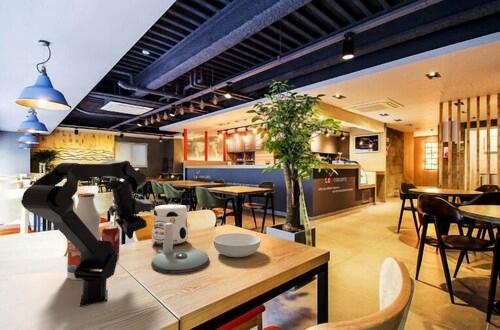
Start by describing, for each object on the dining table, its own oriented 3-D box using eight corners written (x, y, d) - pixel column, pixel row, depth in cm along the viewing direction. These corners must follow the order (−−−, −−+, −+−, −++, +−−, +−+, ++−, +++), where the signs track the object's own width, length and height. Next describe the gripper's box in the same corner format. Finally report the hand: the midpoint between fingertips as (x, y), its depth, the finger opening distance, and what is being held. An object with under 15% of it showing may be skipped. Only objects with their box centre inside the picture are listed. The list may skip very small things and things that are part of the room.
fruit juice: (105, 272, 90) (108, 193, 90) (78, 283, 82) (81, 195, 82) (88, 267, 94) (90, 191, 94) (60, 277, 85) (63, 193, 86)
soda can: (111, 258, 103) (112, 229, 104) (97, 257, 105) (97, 227, 105) (122, 253, 110) (123, 225, 110) (109, 252, 111) (110, 224, 112)
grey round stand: (198, 272, 89) (199, 234, 90) (136, 267, 92) (137, 231, 92) (213, 252, 110) (214, 222, 110) (163, 249, 113) (164, 219, 113)
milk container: (149, 249, 115) (150, 210, 116) (152, 239, 132) (153, 204, 132) (189, 247, 120) (189, 209, 120) (187, 237, 137) (188, 203, 137)
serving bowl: (268, 259, 107) (268, 242, 107) (219, 265, 99) (220, 247, 99) (250, 245, 126) (250, 231, 126) (208, 249, 118) (208, 234, 119)
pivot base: (217, 267, 97) (217, 254, 97) (156, 278, 86) (156, 263, 86) (198, 249, 118) (198, 238, 118) (147, 256, 107) (147, 244, 107)
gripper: (159, 198, 83) (164, 239, 88) (137, 183, 96) (143, 220, 101) (123, 209, 76) (131, 254, 80) (105, 191, 89) (112, 231, 93)
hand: (130, 238), depth 89 cm, fingers closed
